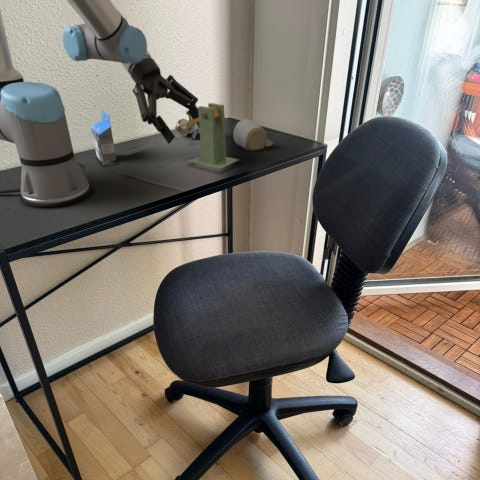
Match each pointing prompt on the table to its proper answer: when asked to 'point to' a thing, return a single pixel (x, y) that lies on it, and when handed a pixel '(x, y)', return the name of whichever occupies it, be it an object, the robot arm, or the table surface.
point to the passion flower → (191, 128)
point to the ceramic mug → (250, 135)
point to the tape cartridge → (104, 140)
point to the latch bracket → (212, 138)
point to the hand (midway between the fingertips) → (188, 133)
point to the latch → (190, 123)
